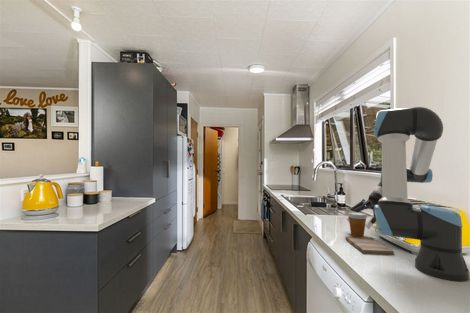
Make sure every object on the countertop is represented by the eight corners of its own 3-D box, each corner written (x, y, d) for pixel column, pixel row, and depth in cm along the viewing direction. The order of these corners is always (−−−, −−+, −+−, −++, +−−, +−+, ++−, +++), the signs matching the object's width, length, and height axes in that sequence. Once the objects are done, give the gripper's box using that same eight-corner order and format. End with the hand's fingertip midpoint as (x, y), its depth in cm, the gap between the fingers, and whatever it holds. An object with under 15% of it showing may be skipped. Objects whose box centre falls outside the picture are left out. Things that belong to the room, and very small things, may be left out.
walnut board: (393, 254, 104) (393, 251, 104) (363, 253, 104) (363, 249, 104) (371, 240, 122) (371, 237, 123) (345, 239, 123) (345, 236, 123)
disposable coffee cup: (362, 233, 135) (362, 211, 136) (370, 238, 126) (370, 215, 126) (345, 232, 136) (345, 211, 137) (351, 237, 127) (351, 214, 127)
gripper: (403, 204, 125) (380, 235, 120) (364, 197, 148) (344, 222, 144) (395, 194, 123) (371, 225, 119) (357, 189, 147) (337, 214, 143)
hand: (357, 224), depth 131 cm, fingers open, 13 cm apart
